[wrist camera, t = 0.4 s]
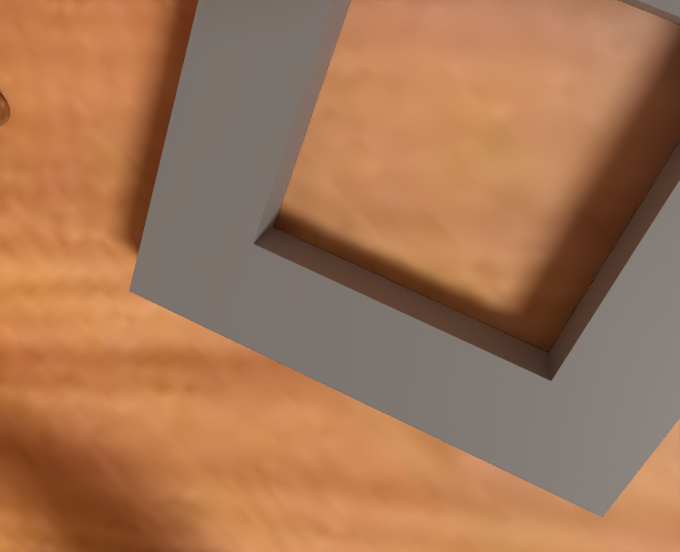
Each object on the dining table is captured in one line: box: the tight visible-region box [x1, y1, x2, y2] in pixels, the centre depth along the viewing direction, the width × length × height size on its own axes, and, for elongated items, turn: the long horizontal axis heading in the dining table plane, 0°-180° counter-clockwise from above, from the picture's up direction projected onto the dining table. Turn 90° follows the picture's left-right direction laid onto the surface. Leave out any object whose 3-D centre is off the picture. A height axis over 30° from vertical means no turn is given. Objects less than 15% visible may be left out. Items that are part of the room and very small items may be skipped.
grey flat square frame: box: [129, 0, 680, 517], centre depth 20 cm, size 19×19×2 cm
